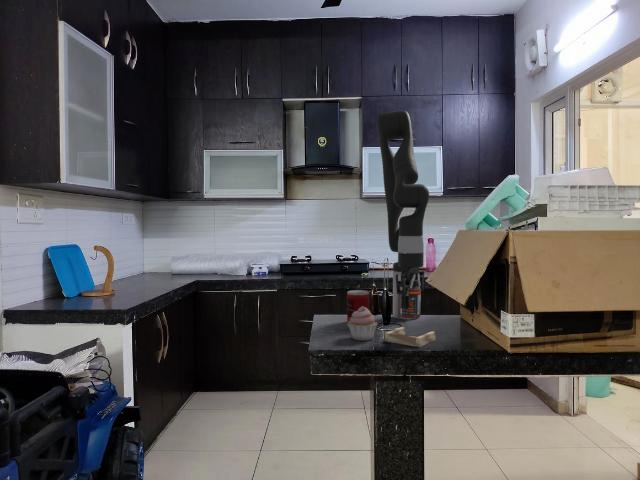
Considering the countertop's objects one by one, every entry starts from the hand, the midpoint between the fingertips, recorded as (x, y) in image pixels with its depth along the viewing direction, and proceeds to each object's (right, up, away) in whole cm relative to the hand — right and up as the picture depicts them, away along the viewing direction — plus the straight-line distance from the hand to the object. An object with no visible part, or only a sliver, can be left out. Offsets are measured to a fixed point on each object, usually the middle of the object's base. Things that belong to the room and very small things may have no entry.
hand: (410, 306), depth 151 cm
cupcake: (-14, -10, +3) cm, 18 cm away
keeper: (0, -10, +1) cm, 10 cm away
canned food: (-14, -9, +27) cm, 31 cm away
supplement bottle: (0, -3, 0) cm, 3 cm away
